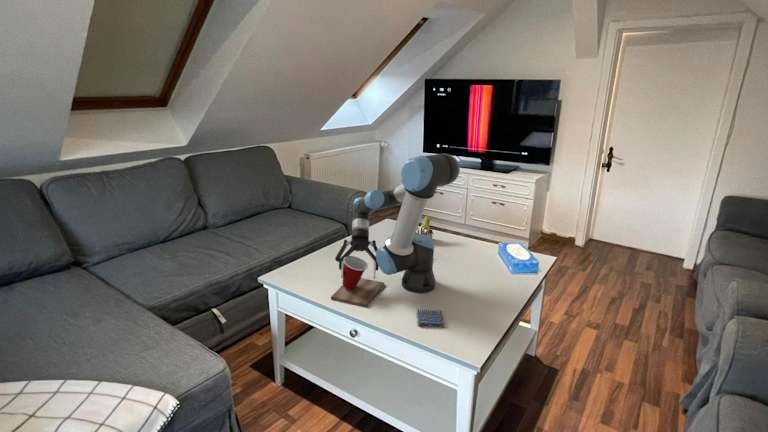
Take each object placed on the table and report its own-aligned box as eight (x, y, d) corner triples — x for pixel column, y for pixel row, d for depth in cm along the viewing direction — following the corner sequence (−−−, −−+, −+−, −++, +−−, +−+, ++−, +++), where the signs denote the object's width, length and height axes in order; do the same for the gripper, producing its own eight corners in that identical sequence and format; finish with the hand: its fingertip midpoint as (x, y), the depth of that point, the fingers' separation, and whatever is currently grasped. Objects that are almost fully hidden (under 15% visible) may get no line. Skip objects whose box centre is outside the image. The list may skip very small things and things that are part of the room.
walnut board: (384, 284, 183) (384, 282, 183) (366, 307, 166) (366, 304, 165) (351, 278, 189) (351, 276, 188) (331, 299, 171) (330, 296, 171)
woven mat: (442, 313, 163) (442, 309, 162) (445, 329, 153) (445, 324, 152) (415, 312, 163) (416, 308, 162) (417, 328, 153) (417, 323, 152)
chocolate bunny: (415, 243, 229) (417, 217, 225) (426, 237, 238) (427, 213, 233) (426, 246, 226) (427, 220, 221) (436, 240, 234) (438, 215, 229)
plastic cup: (358, 296, 172) (365, 271, 168) (334, 287, 173) (340, 263, 169) (364, 284, 183) (370, 260, 178) (341, 276, 184) (347, 253, 179)
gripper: (388, 234, 185) (387, 280, 176) (333, 233, 186) (329, 279, 176) (388, 227, 179) (388, 275, 169) (331, 226, 179) (327, 273, 169)
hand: (358, 277), depth 173 cm, fingers open, 13 cm apart
